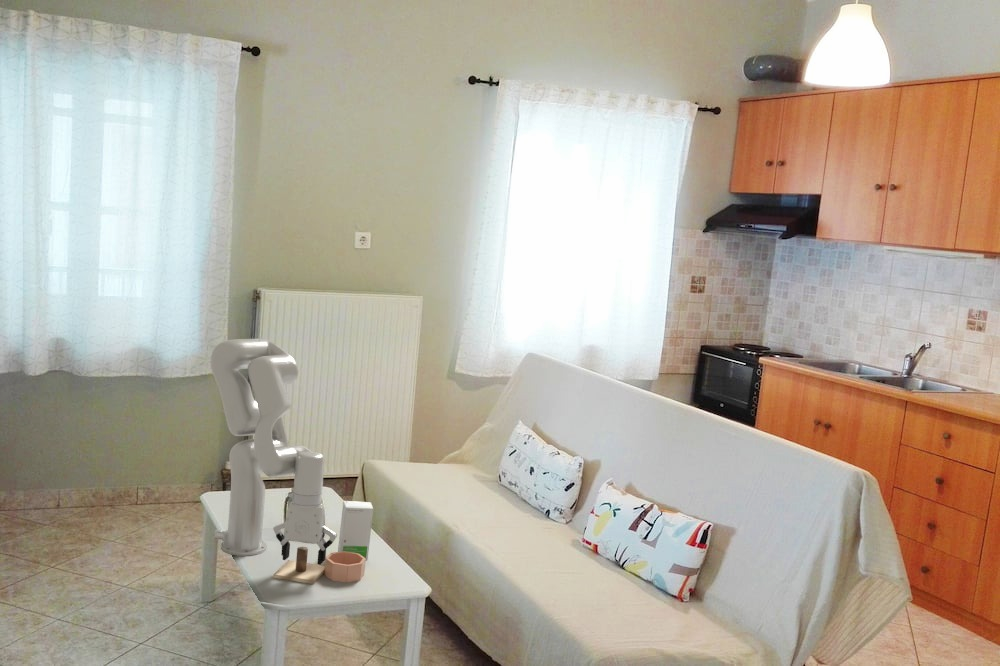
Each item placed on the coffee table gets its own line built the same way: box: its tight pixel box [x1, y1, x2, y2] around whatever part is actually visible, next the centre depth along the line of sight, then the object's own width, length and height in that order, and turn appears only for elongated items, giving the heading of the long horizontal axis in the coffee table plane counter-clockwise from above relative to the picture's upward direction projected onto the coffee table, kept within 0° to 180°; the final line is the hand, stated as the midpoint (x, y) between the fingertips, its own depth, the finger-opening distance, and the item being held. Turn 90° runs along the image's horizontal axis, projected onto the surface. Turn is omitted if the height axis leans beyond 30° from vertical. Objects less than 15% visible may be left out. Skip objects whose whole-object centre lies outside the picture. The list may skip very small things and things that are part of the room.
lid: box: [273, 546, 325, 585], centre depth 257 cm, size 11×11×7 cm
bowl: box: [323, 551, 366, 583], centre depth 259 cm, size 10×10×5 cm
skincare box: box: [337, 500, 374, 561], centre depth 274 cm, size 8×7×16 cm
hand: (303, 560), depth 256 cm, fingers open, 9 cm apart
